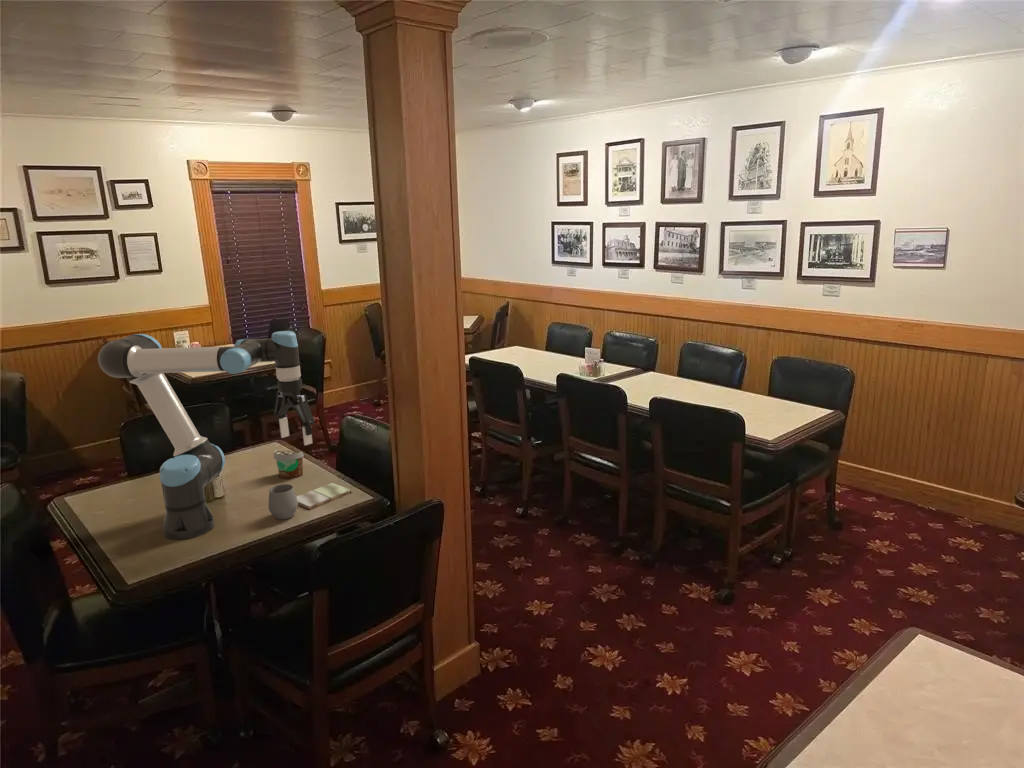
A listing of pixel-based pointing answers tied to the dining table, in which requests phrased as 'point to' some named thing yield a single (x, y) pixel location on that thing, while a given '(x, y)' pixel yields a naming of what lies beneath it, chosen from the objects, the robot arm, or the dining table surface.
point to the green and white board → (321, 495)
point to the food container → (289, 464)
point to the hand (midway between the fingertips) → (296, 440)
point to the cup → (282, 501)
